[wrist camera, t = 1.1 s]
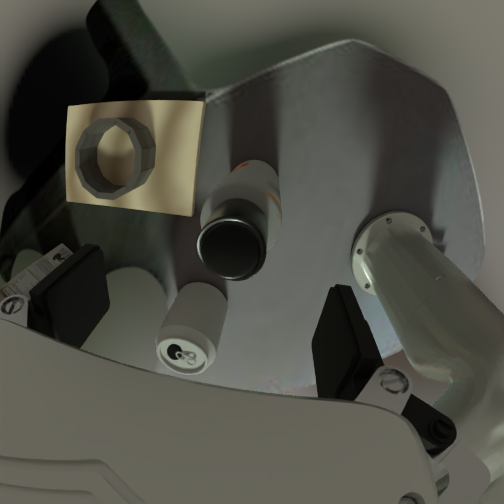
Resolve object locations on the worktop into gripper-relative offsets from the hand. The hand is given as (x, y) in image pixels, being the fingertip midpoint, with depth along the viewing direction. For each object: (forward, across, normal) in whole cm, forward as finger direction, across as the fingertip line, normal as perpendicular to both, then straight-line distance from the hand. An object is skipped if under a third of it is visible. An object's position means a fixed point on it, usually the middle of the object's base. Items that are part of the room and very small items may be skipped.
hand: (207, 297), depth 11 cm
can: (+24, +5, +18) cm, 31 cm away
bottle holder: (+24, +17, -2) cm, 29 cm away
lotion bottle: (+24, 0, 0) cm, 24 cm away
